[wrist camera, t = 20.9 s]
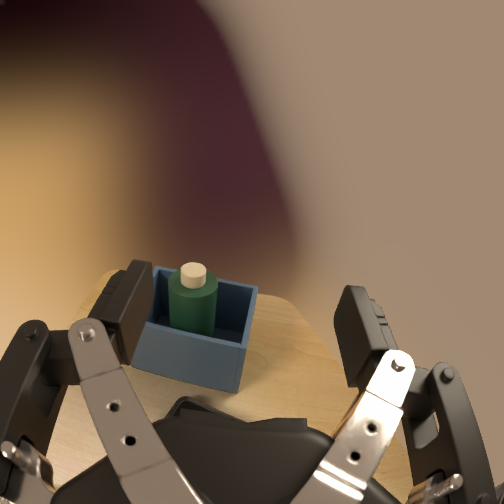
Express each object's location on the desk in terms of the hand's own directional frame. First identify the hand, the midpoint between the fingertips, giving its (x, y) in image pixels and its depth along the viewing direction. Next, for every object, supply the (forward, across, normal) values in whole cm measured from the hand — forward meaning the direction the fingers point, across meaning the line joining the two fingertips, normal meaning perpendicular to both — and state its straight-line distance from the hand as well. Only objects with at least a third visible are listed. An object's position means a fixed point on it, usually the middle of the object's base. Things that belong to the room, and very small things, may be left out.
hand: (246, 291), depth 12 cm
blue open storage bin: (+15, +5, +23) cm, 28 cm away
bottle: (+15, +5, +23) cm, 28 cm away
